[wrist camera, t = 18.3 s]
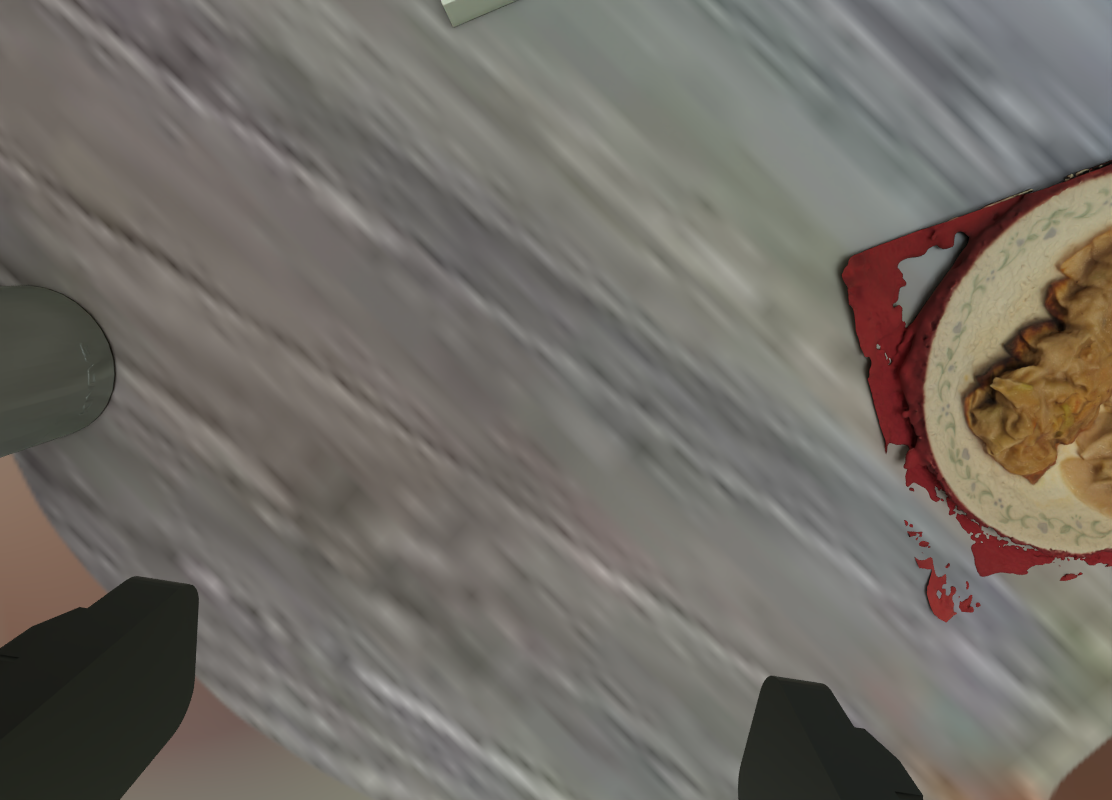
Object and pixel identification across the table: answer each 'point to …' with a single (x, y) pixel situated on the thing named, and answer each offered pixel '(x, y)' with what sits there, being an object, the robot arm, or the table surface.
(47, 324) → the robot arm
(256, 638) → the table surface
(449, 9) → the tray
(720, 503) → the table surface
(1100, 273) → the plate with food
